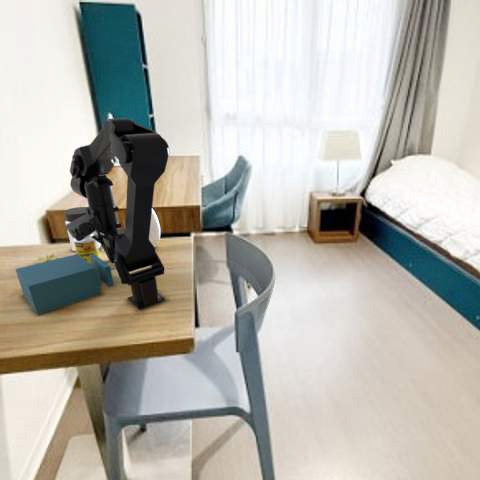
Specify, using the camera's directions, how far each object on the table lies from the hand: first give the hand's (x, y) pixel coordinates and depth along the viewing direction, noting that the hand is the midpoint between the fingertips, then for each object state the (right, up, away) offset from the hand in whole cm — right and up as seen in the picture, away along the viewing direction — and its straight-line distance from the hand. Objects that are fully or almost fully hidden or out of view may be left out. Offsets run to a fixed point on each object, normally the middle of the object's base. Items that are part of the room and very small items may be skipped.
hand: (113, 262), depth 94 cm
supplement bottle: (-11, 0, +10) cm, 15 cm away
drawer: (-5, -5, -3) cm, 8 cm away
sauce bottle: (+2, +5, +22) cm, 22 cm away
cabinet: (-9, -8, -6) cm, 14 cm away
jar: (-18, +5, +22) cm, 29 cm away
